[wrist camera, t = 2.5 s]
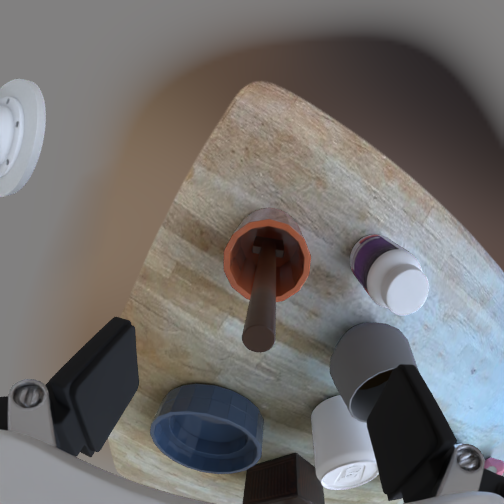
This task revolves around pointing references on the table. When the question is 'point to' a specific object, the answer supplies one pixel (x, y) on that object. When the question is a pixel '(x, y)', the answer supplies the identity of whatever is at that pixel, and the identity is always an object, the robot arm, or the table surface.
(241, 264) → the utensil pot
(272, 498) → the manual coffee grinder
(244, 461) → the bowl
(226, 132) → the table surface
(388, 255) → the pill bottle
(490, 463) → the apple
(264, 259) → the stirring stick
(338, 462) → the beverage can
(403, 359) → the cup
